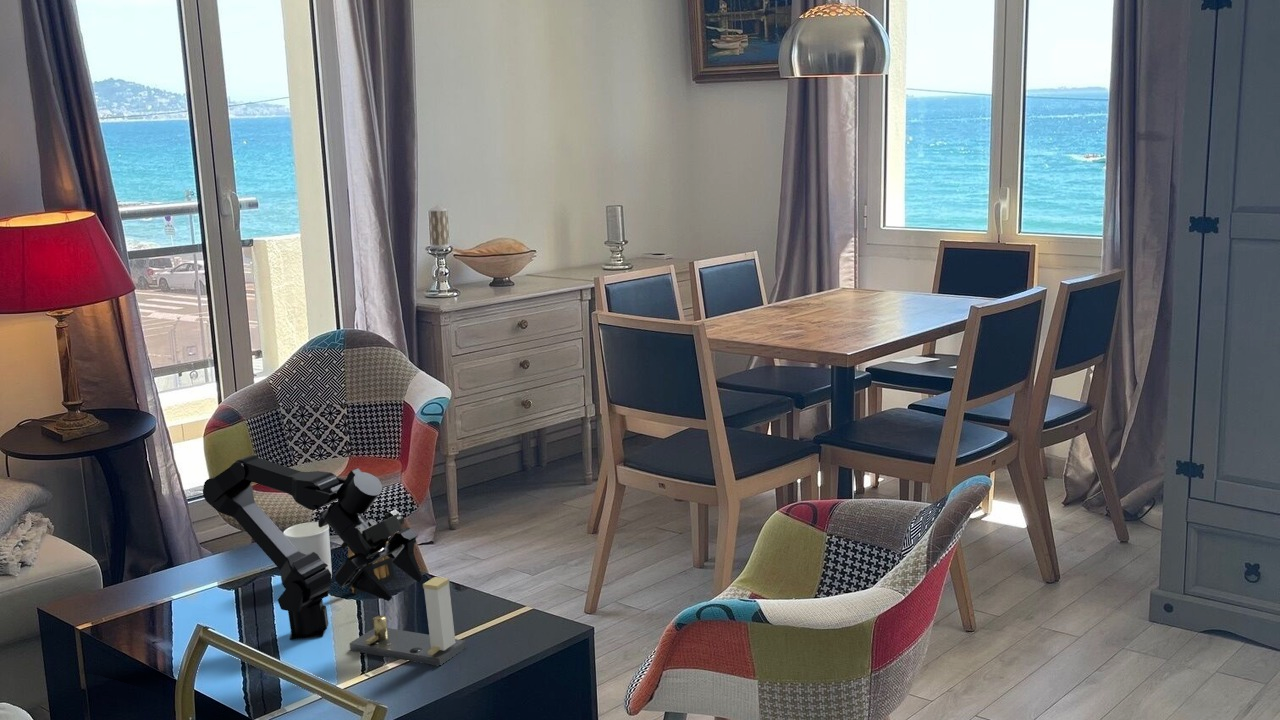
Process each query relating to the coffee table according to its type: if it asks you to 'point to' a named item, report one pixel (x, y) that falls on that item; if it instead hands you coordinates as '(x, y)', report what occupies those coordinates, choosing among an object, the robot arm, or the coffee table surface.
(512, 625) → the coffee table surface
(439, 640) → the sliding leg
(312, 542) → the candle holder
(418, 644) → the plate
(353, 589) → the ammunition clip
